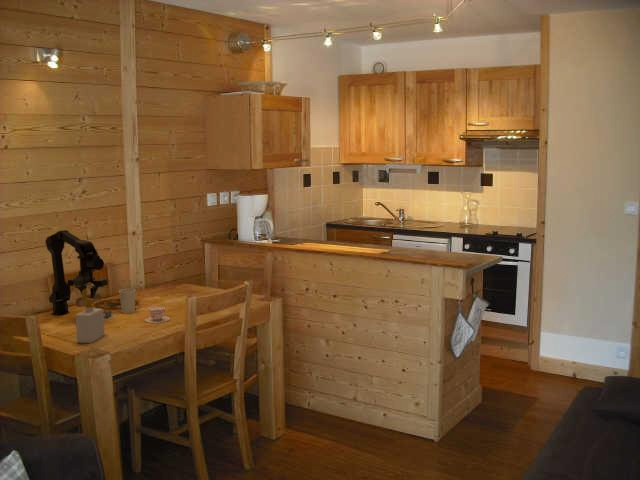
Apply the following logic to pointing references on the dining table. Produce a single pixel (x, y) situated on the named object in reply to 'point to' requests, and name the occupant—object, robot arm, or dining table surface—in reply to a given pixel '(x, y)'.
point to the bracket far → (107, 314)
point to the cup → (127, 300)
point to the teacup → (157, 315)
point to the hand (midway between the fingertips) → (88, 300)
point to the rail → (82, 303)
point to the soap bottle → (89, 322)
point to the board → (109, 317)
